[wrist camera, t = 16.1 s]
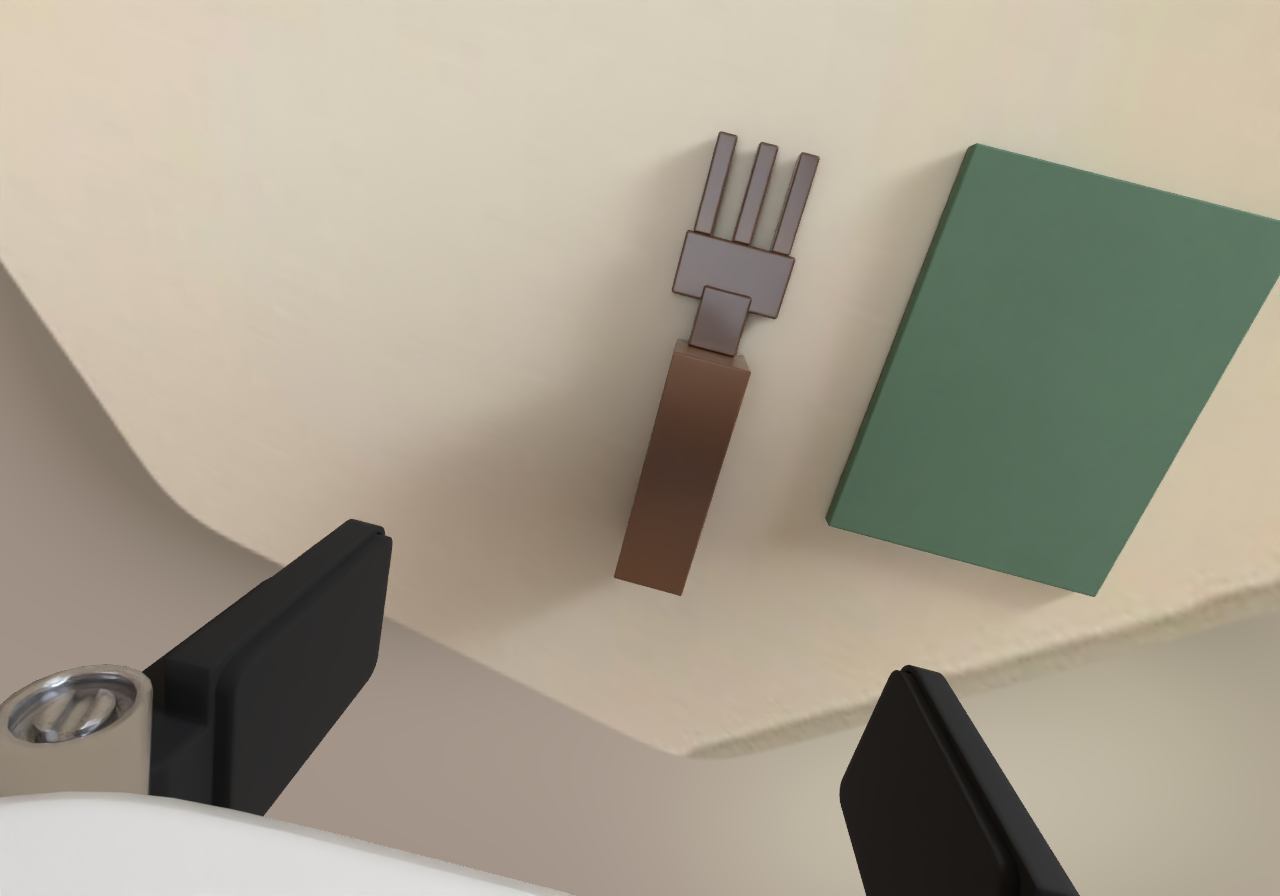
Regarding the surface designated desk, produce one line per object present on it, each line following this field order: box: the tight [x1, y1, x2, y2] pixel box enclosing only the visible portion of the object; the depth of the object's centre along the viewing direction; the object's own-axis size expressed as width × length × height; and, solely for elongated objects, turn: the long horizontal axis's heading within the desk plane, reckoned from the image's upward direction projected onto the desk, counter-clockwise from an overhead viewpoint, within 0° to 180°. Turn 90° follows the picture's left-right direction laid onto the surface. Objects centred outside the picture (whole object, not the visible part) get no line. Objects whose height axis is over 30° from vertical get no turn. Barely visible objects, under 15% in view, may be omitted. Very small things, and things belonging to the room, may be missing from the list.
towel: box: [826, 144, 1280, 597], centre depth 20 cm, size 13×10×1 cm
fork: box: [614, 132, 820, 596], centre depth 19 cm, size 14×4×3 cm, turn 166°
